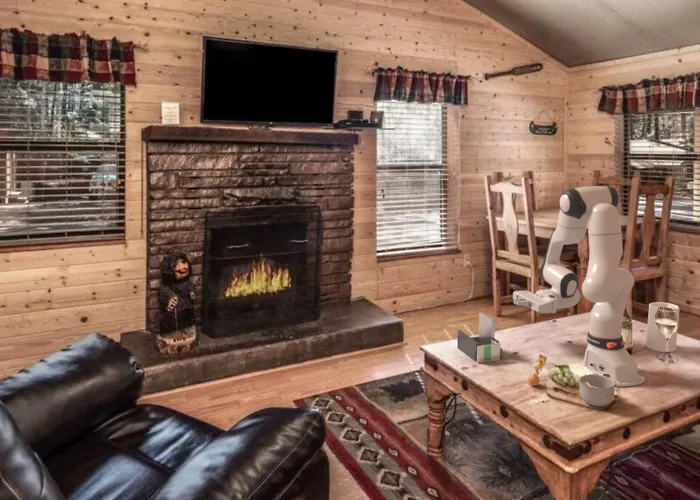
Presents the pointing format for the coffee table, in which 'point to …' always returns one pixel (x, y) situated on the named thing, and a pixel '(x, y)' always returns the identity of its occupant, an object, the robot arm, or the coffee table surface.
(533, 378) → the figurine
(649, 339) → the cup
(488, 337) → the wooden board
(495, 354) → the gauge housing
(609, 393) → the teacup
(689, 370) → the coffee table surface
